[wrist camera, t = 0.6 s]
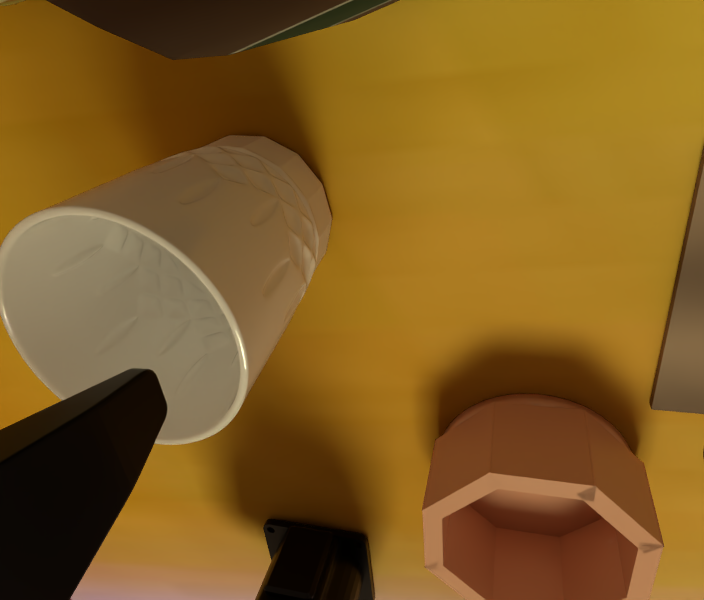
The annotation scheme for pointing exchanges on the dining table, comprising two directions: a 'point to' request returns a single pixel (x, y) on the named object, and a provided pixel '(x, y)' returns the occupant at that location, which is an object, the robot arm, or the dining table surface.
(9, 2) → the decorated donut
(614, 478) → the terracotta bowl
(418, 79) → the dining table surface
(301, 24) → the beer bottle
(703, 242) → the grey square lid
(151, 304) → the white cup
